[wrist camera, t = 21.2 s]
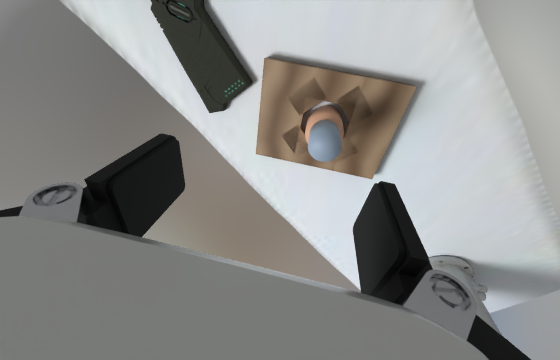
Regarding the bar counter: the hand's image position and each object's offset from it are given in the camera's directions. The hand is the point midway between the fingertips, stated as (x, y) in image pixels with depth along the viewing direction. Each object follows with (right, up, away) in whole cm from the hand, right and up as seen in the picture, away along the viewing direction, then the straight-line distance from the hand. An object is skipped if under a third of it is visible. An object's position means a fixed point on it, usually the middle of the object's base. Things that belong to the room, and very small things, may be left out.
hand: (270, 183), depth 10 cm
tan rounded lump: (+8, +10, +26) cm, 29 cm away
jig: (+8, +10, +26) cm, 29 cm away
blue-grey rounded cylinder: (+7, +7, +22) cm, 24 cm away
